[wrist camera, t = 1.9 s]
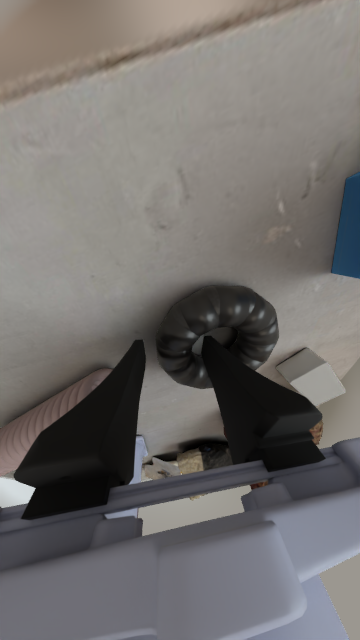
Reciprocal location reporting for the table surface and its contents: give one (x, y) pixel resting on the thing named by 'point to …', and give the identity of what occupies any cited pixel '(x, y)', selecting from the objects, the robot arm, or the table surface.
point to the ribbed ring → (207, 314)
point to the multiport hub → (311, 376)
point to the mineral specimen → (204, 459)
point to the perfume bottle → (349, 231)
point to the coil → (42, 420)
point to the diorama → (161, 469)
